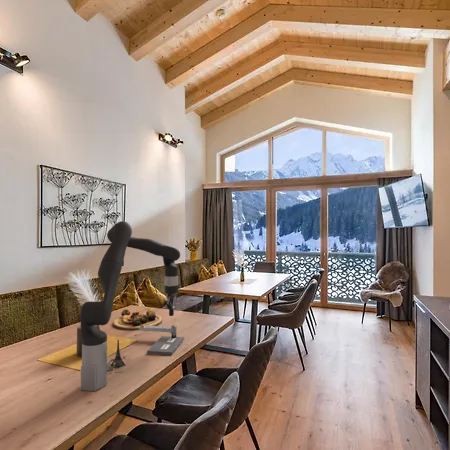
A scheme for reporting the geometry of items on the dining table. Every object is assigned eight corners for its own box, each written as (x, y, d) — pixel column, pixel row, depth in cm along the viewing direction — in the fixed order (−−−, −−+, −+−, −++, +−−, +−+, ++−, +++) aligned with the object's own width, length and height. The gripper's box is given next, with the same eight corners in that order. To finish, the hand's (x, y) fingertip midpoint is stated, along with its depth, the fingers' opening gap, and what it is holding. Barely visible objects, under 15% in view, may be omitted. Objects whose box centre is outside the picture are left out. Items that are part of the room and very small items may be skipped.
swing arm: (138, 336, 176) (138, 325, 176) (141, 334, 180) (141, 323, 180) (175, 338, 172) (175, 326, 173) (177, 336, 176) (177, 324, 177)
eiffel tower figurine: (111, 359, 150) (111, 332, 150) (132, 359, 150) (132, 331, 150) (99, 374, 135) (99, 343, 135) (123, 374, 135) (123, 343, 135)
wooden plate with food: (105, 322, 210) (105, 310, 210) (148, 313, 231) (148, 302, 231) (125, 335, 186) (125, 321, 186) (171, 323, 207) (171, 311, 207)
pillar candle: (89, 357, 151) (90, 326, 151) (72, 356, 153) (72, 325, 153) (101, 350, 160) (101, 321, 161) (84, 348, 162) (85, 320, 163)
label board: (172, 355, 154) (172, 351, 154) (147, 353, 155) (147, 350, 155) (184, 339, 175) (184, 336, 175) (162, 338, 177) (162, 335, 177)
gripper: (168, 282, 178) (168, 312, 178) (160, 286, 165) (160, 318, 164) (181, 282, 177) (181, 312, 176) (174, 286, 164) (174, 319, 163)
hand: (171, 315), depth 170 cm, fingers closed
